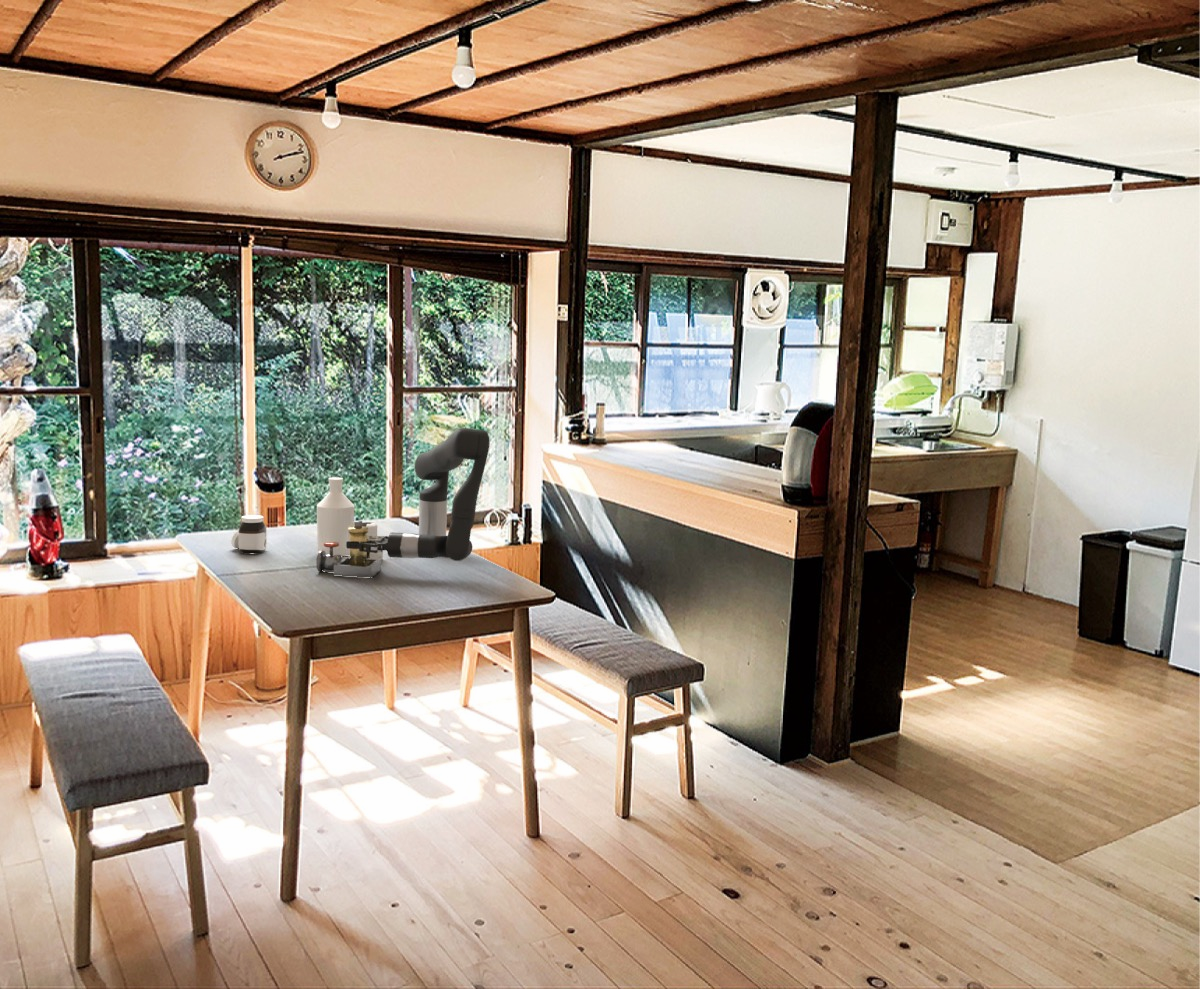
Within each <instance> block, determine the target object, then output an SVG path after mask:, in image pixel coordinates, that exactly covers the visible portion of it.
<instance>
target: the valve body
mask: <svg viewBox="0 0 1200 989" xmlns="http://www.w3.org/2000/svg"><path fill="white" fill-rule="evenodd" d="M362 523H363V520H354V526H353V527H349V528H348V533H350V541H367V533H368V527H364V526H362ZM363 548H366V546H365V545H363ZM349 557H350V565H356V566H368V565H367V552H361V551H359V549H350V556H349Z"/></svg>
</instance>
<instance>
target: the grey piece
mask: <svg viewBox="0 0 1200 989" xmlns="http://www.w3.org/2000/svg"><path fill="white" fill-rule="evenodd" d="M324 546H325V547H330V554H326V552H325V551H321V550H320V551H319V553H318V554H317V555H316V556H317V557H316V570H317V571H318V572H319V571H322V570H323V571H325V572H334V573H333V576H334V575H342V576H357V577H370V578H371V577H373V576H374V575H375V574H376V573H378V572H379V571H380V570H381V571H382V560H381V559H368V558H367V565H368V566H356V565H350V556H348V557H341V555H334V554H333V547H338V546H339V543H338V542H325V543H324ZM381 571H380V572H381ZM380 572H379V573H380ZM379 573H378V574H379ZM376 575H377V574H376ZM376 575H375V576H376ZM375 576H374V577H375ZM374 577H373V578H374Z"/></svg>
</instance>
